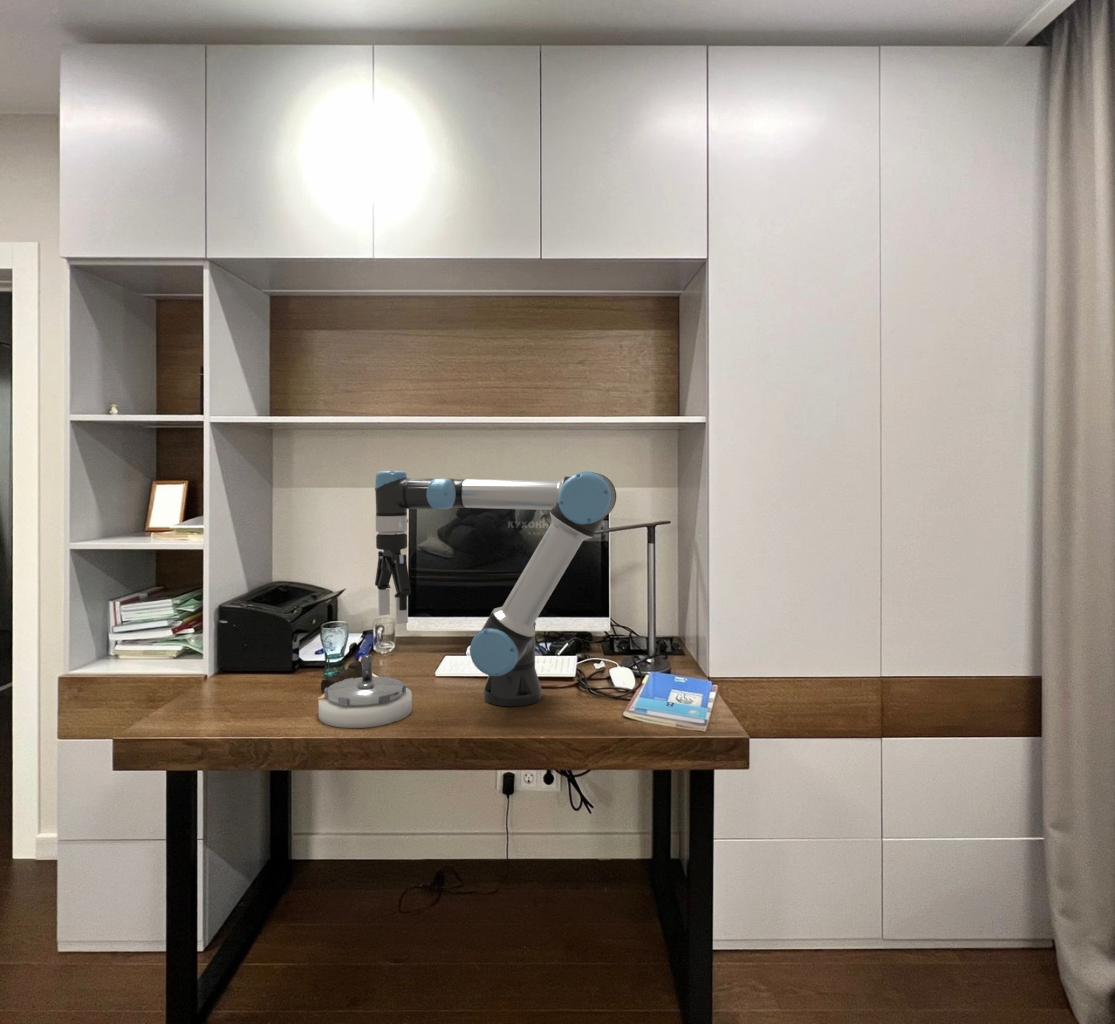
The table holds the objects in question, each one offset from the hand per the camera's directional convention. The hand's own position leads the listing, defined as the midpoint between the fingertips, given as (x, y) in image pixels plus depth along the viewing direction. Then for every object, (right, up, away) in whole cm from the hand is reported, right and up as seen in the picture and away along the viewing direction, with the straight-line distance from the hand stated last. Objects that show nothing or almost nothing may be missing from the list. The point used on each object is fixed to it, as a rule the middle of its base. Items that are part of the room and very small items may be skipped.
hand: (392, 619), depth 176 cm
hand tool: (-19, -22, +22) cm, 36 cm away
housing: (-6, -22, -3) cm, 23 cm away
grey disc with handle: (-6, -18, -3) cm, 19 cm away
